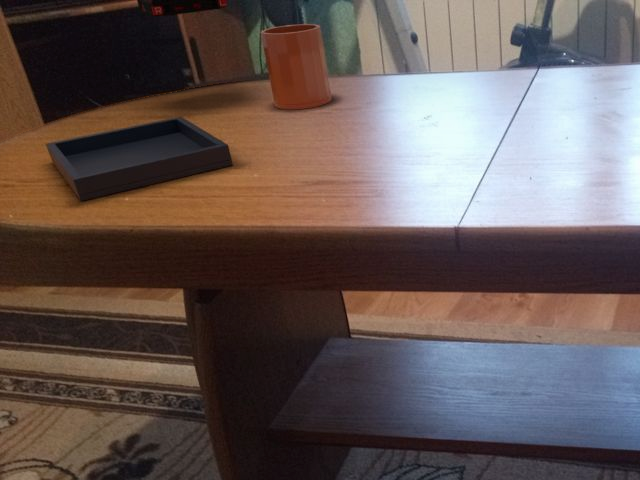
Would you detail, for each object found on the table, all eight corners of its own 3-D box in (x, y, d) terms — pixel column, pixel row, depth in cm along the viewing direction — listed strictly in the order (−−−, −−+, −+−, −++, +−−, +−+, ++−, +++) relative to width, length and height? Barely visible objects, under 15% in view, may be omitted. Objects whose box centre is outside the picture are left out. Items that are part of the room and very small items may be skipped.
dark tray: (52, 162, 80) (45, 143, 79) (185, 134, 86) (181, 116, 85) (81, 201, 68) (73, 179, 67) (233, 165, 74) (228, 144, 73)
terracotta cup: (266, 103, 98) (251, 30, 93) (317, 93, 101) (305, 22, 96) (288, 112, 92) (273, 36, 88) (341, 101, 96) (329, 27, 91)
